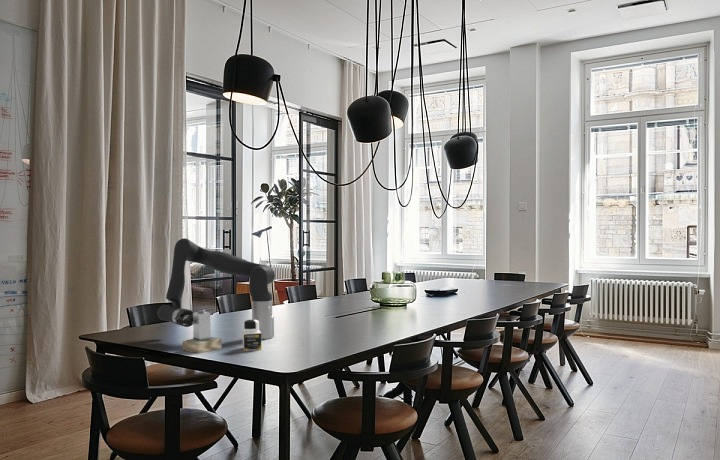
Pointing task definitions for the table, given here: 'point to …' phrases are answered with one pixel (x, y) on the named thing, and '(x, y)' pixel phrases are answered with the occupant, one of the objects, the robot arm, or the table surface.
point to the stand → (202, 345)
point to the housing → (201, 325)
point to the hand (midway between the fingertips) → (199, 321)
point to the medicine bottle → (251, 335)
